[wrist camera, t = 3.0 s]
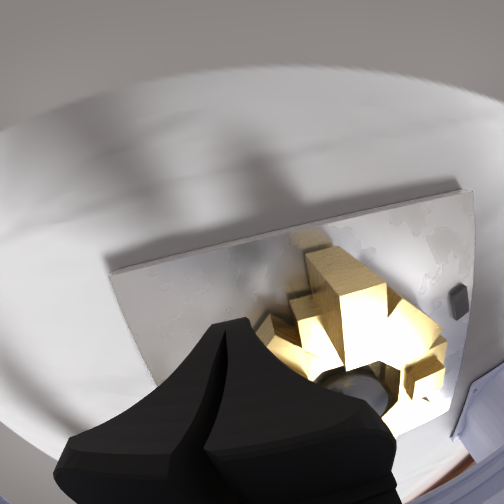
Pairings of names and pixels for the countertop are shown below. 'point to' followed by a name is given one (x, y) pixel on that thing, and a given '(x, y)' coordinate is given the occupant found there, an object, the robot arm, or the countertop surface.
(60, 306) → the countertop surface
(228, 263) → the plate
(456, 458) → the countertop surface
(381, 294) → the gold blocky ring
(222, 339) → the robot arm
